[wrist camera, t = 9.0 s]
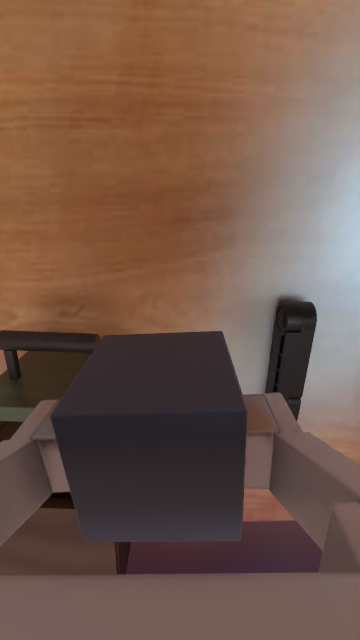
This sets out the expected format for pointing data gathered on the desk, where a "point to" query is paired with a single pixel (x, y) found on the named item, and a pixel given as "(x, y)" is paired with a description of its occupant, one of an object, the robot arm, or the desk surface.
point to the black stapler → (291, 351)
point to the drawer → (38, 374)
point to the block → (155, 439)
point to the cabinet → (59, 546)
